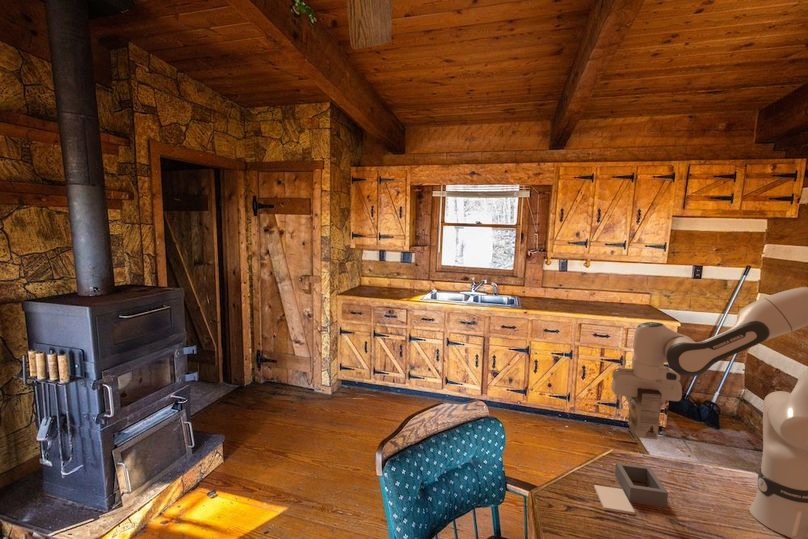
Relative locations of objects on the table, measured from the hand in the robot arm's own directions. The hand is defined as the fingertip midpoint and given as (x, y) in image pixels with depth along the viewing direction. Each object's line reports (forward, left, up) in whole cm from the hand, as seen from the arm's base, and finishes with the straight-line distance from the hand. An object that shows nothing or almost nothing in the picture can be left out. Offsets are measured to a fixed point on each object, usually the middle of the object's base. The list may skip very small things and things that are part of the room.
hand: (644, 409), depth 125 cm
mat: (+10, +7, -29) cm, 32 cm away
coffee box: (0, 0, -8) cm, 8 cm away
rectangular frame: (-1, 0, -29) cm, 29 cm away
